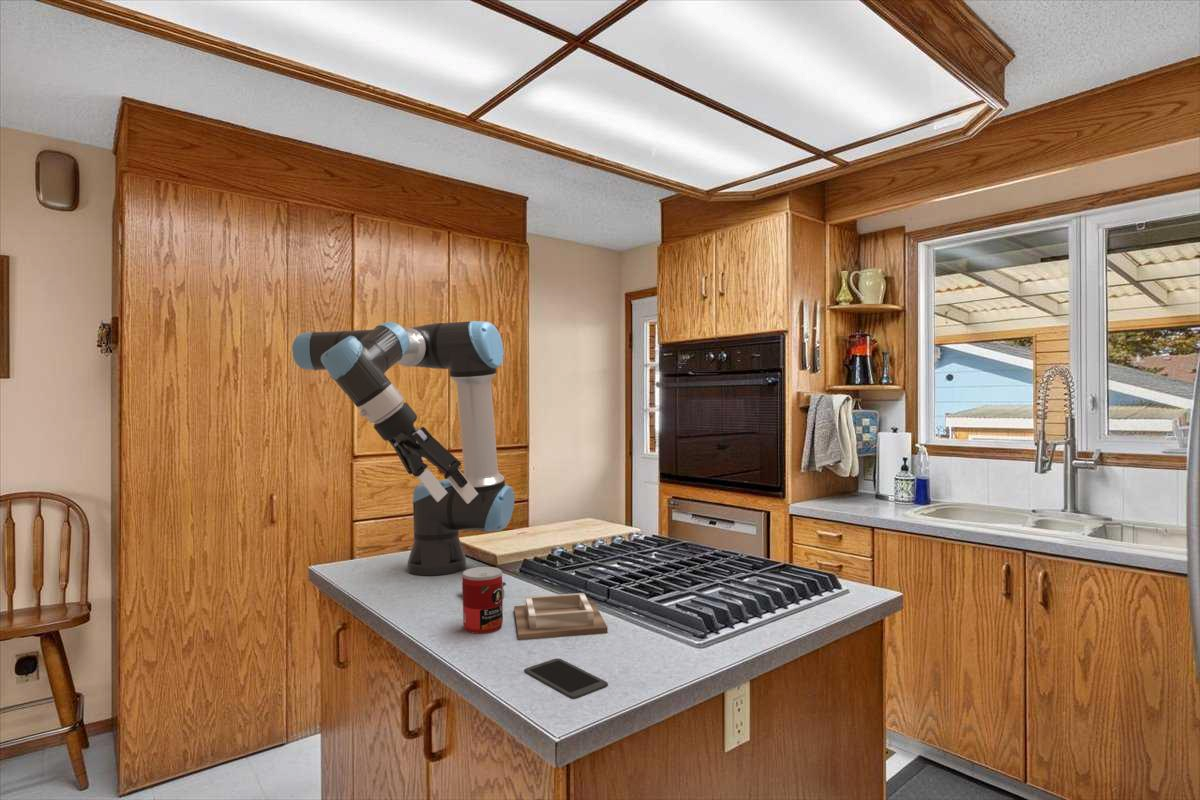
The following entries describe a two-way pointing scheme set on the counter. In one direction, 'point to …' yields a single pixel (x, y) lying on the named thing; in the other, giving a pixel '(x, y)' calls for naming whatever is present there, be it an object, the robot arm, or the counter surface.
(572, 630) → the socket board
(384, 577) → the counter surface
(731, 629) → the counter surface
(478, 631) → the canned food
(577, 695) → the cell phone
